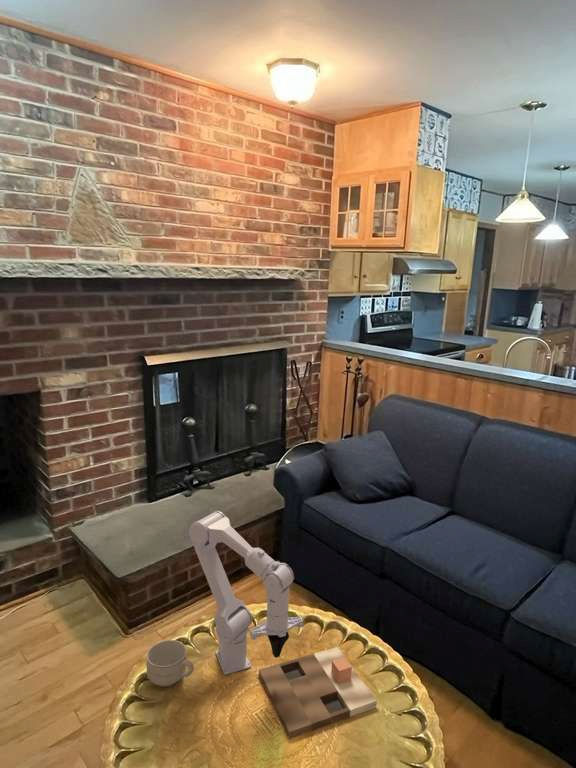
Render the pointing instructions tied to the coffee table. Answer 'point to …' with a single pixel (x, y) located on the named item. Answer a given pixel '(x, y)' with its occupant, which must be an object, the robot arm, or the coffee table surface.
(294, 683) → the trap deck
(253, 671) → the coffee table surface
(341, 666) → the block
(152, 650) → the teacup
